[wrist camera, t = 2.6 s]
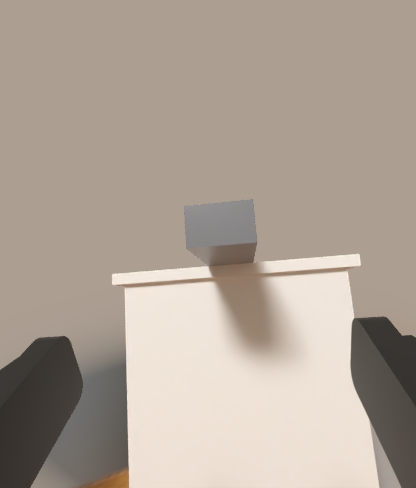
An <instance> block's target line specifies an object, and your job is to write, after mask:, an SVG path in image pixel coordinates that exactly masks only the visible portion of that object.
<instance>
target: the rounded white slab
mask: <svg viewBox="0 0 416 488" xmlns="http://www.w3.org/2000/svg"><path fill="white" fill-rule="evenodd" d="M370 427H371V434H372V441H373V448H374V454H375V461H376V468H377V475H378V482H379V488H401V485H400V483H399V481H398V479H397V477H396V475H395V473H394V471H393V469H392V466H391V464H390V462H389V460H388V458H387V456H386V454H385V452H384V450H383V447H382V445H381V443H380V441H379V439H378V437H377V435H376V433H375V430H374V428H373V426H372V424H371V422H370Z"/></svg>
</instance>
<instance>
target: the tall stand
mask: <svg viewBox="0 0 416 488" xmlns="http://www.w3.org/2000/svg"><path fill="white" fill-rule="evenodd" d="M358 266H361V262H360V256H359V254H354V255H341V256H329V257H317V258H305V259H292V260H281V261H268V262H256V263H243V264H231V265H219V266H207V267H196V268H182V269H170V270H158V271H146V272H133V273H121V274H112V285H117V286H125V318H126V359H127V361H126V362H127V403H128V404H127V407H128V451H129V488H379V482H378V475H377V468H376V461H375V454H374V448H373V441H372V434H371V427H370V420H369V418H368V416H367V414H366V411H365V409H364V407H363V405H362V403H361V401H360V399H359V397H358V395H357V392H356V390H355V387H354V384H353V381H352V376H351V369H350V360H351V328H352V321H353V319H354V312H353V306H352V298H351V292H350V285H349V278H348V271H347V269H350V268H354V267H358Z"/></svg>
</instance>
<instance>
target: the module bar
mask: <svg viewBox="0 0 416 488" xmlns="http://www.w3.org/2000/svg"><path fill="white" fill-rule="evenodd" d="M184 215H185V233H186V248H187V249H188V250H189V251H190V252H191V253H192V254H194V255H195V256H196V257H197V258H199V259H200V260H201V261H202V262H204V263H205V264H206V265H207V266H219V265H231V264H243V263H253V261H254V256H255V251H256V245H257V235H256V226H255V215H254V205H253V199H251V200H241V201H232V202H222V203H213V204H202V205H194V206H184Z"/></svg>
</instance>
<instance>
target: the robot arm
mask: <svg viewBox="0 0 416 488" xmlns="http://www.w3.org/2000/svg"><path fill="white" fill-rule="evenodd" d="M350 369H351V376H352V381H353V384H354V387H355V390H356V392H357V395H358V397H359V399H360V401H361V403H362V405H363V407H364V409H365V411H366V414H367V416H368V418H369V420H370V422H371V424H372V426H373V428H374V430H375V433H376V435H377V437H378V439H379V441H380V443H381V445H382V447H383V450H384V452H385V454H386V456H387V458H388V460H389V462H390V464H391V466H392V469H393V471H394V473H395V475H396V477H397V479H398V481H399V483H400V485H401V488H416V338H415V337H414V336H412V335H406V336H402V335H401V334H400V333H399V332H398V330H397V329H396V328H395V327H394V325H393V324H392V323H391V322H390V321H389V320H388V318H386V317H369V318H354V319H353V321H352V328H351V360H350ZM82 388H83V381H82V377H81V373H80V370H79V367H78V364H77V361H76V357H75V355H74V351H73V348H72V345H71V342H70V341H69V339H68V338H67V337H65V336H59V337H44V338H38V339H36V340H35V341H34V342H33V343H32V344H31V345H30V346H29V347H28V348H27V349H26V350H25V352H24V353H23V354H22V355H21V356H20V357H18V358H17V359H15V360H14V361H13V362H11V363H10V364H8V365H7V366H5V367H4V368H2V369H1V370H0V488H30V487H31V485H32V483H33V481H34V480H35V478H36V476H37V474H38V473H39V471H40V469H41V467H42V466H43V464H44V462H45V460H46V458H47V457H48V455H49V453H50V451H51V450H52V448H53V446H54V444H55V443H56V441H57V439H58V437H59V436H60V434H61V432H62V430H63V428H64V426H65V425H66V423H67V421H68V420H69V418H70V416H71V414H72V413H73V411H74V409H75V407H76V405H77V404H78V402H79V400H80V397H81V394H82Z"/></svg>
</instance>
